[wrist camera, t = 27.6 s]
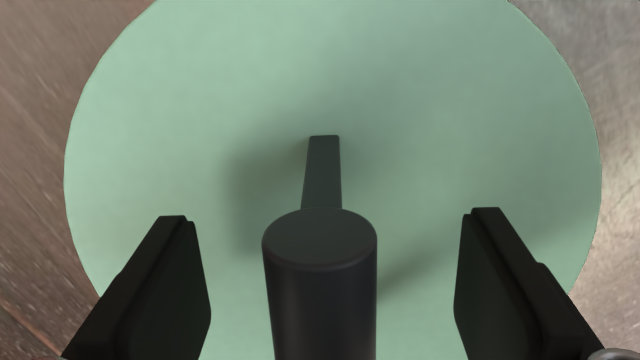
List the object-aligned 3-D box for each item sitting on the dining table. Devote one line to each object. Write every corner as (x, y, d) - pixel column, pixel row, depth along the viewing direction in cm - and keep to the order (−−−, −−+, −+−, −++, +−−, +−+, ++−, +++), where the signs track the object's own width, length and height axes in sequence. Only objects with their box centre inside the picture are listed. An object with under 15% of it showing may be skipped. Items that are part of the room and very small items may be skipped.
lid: (637, -72, 10) (1110, -123, 4) (534, 382, 16) (658, 638, 10) (15, -41, 10) (-413, -44, 4) (143, 386, 16) (34, 632, 10)
